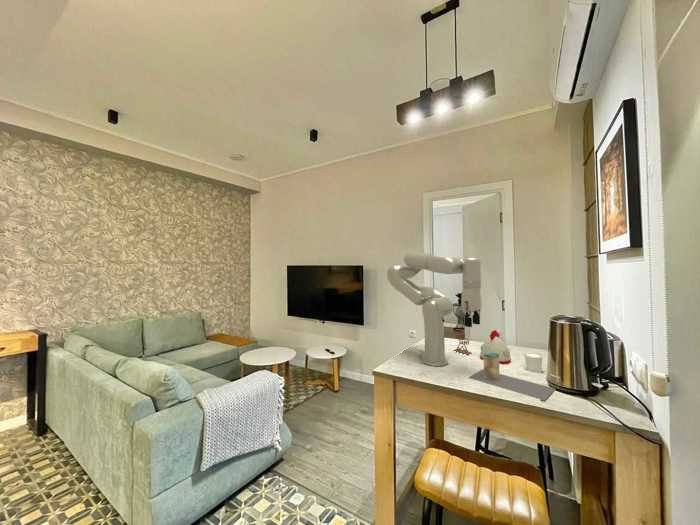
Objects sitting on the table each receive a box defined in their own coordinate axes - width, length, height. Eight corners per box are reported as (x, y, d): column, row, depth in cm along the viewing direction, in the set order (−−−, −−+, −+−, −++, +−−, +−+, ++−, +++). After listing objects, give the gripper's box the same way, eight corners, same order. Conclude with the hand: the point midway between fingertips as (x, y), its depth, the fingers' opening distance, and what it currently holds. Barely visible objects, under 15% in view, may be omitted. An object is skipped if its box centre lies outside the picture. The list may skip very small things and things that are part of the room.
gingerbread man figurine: (471, 354, 155) (471, 331, 155) (467, 355, 153) (467, 333, 153) (457, 350, 163) (457, 329, 163) (453, 351, 160) (452, 330, 160)
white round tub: (530, 367, 135) (530, 352, 135) (546, 372, 128) (545, 356, 129) (521, 369, 132) (521, 354, 132) (536, 374, 126) (536, 358, 126)
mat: (467, 378, 122) (467, 377, 122) (482, 370, 132) (482, 369, 132) (544, 401, 101) (544, 400, 101) (555, 389, 111) (555, 388, 111)
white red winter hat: (474, 359, 147) (474, 330, 147) (488, 353, 155) (488, 326, 155) (502, 366, 136) (502, 335, 136) (515, 360, 144) (515, 330, 144)
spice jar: (483, 377, 122) (483, 354, 122) (488, 374, 125) (488, 351, 125) (494, 380, 119) (494, 356, 119) (499, 377, 122) (498, 354, 122)
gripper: (472, 283, 136) (473, 321, 136) (453, 286, 125) (454, 327, 125) (488, 284, 131) (489, 323, 131) (470, 287, 119) (471, 329, 119)
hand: (472, 325), depth 128 cm, fingers open, 6 cm apart
